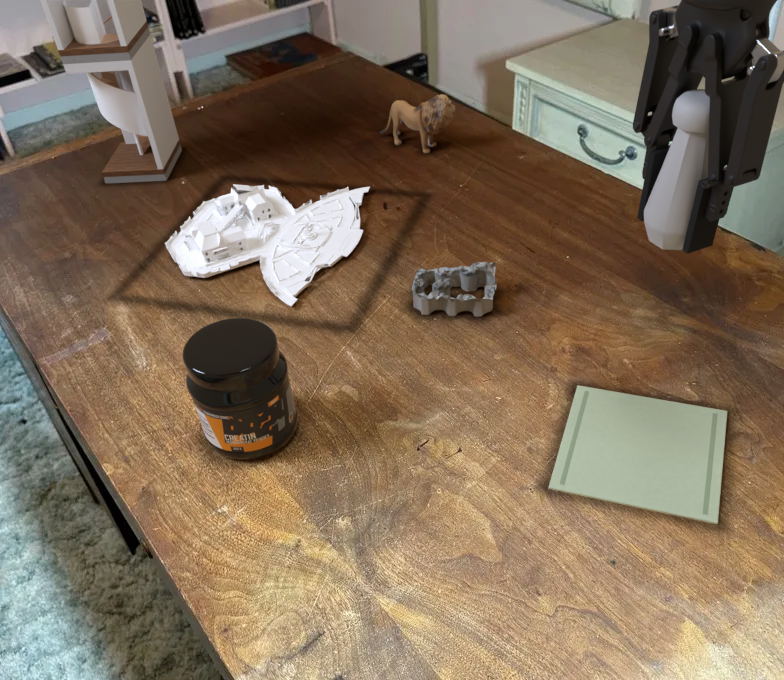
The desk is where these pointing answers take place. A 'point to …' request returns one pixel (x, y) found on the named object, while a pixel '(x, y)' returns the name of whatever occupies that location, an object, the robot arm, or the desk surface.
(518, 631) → the desk surface
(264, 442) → the supplement container
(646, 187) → the robot arm
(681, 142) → the salt shaker
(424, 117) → the lion figurine
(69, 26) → the tiered tower model
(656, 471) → the napkin
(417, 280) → the egg carton
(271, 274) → the architectural model
